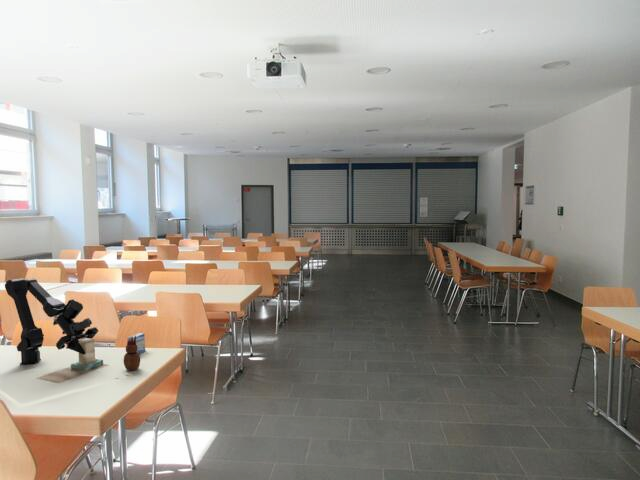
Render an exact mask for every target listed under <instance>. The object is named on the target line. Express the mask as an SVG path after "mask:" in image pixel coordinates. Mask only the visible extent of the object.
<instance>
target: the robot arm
mask: <svg viewBox="0 0 640 480" xmlns="http://www.w3.org/2000/svg"><path fill="white" fill-rule="evenodd" d="M4 288H5V290H6V293H7V295H8V296H9V297H11V299H12V300H13V302H14V304H15V309H16V311H17V315H18V318H19V321H20V325H21V328H22V331H21V333H20V342H19V343H18V344H17V346H16V350H17V352H20V357H21V361H20V363H19V365H34V364H37V363H38V362H40V361H42V359H41V352H40V351H41V350H40V349H39V348H42V346H43V342H44V339H45V338H44V337H45V335H44V333H43V330H42V328H41V327H37V326H36V323H35V321H34V318H33V314H32V312H31V308H30V305H29V300H28V297H27V295H28V292H29V293H30V294H31V295H32V296H33V297H34V298H35V299H36V300H37V301H38V302H39V303H40V304H41V305H42V310H43V311H44V313H45V314H46V316H48V317H49V318H53V317H56V318H54V319H53V323H52V325H53V326H57V325H58V327H60V329H61V330H62V332H61V333H62V335H63V336H61V337H60V338H59V339H58V341H57V342H56V343H55V347H56V348H57V349H58V351H60V350H62V349H64V348H65V349H67V350H72V351H74V352H76V353H78V354H79V353H81V354H83V355H85V351H84V349H83V348H82V346H81V345H80V344H79V340H82V339H85V338H90V339H94V337H95V336H96V335H97V334H98V332H99V329H98V328H97V327H95V326H93V327H91V325H92V324H93V322H92V319H90V318H89V317H87V318H84V319H83V320H81V321H79V322H78V321H76V322H75V319H76V318H77V317H78V316H79V314H80V313H81V312H82V311H83V309H84V305H83V304H82V303H80V302H79V301H77V300H74V299H69V300H68V301H67V303H66V304H65V303H64V302H63V301H61V300H60V299H57V298H54V297H53V296H51V294H50V293H49V292H48V291H47V290H46V289H44V288H43V286H42V285H41V284H40V283H39V282H38V280H37V279H35V278H28V279H27V278H26V279H25V278H24V277H21V278H13V279H8V280H6V283H5V284H4ZM87 328H88V329H87ZM86 329H87V330H86ZM65 344H66V345H65Z"/></svg>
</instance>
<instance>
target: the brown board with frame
mask: <svg viewBox="0 0 640 480" xmlns="http://www.w3.org/2000/svg"><path fill="white" fill-rule="evenodd" d="M107 366H109V364H106V363H105V364H104V359H96V358H95V362H94V363H91V364H89V365H81V364H79V361H76V362H74V363H71V364H70V366H67V367H65V368H62V369H59V370H56V371H53V372H51V373H46V374H44V375H41V376H38V377H36V379H38V380H41V381H42V380H43V381H47V382H51V383H57V384H60V383H62V382H65V381H68V380H71V379H74V378H77V377H79V376H82V375H86V374H88V373H91V372H93V371H96V370H99V369H102V368H105V367H107Z"/></svg>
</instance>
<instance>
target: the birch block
mask: <svg viewBox="0 0 640 480" xmlns="http://www.w3.org/2000/svg"><path fill="white" fill-rule="evenodd" d="M79 344H80V345H81V346H82V348H83V349H84V351H85V355H83V354H81V353H79V352H78V362H79V364H81V365H89V364H91V363H94V362H95V359H96V347H95V346H96V345H95V344H96V343H95V338H92V339H90V338H85V339H79Z"/></svg>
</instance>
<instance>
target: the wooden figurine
mask: <svg viewBox="0 0 640 480" xmlns="http://www.w3.org/2000/svg"><path fill="white" fill-rule="evenodd" d="M134 335H135V334H134ZM126 342H127V343H126V347H125V352H126V353H125V354H124V356H123V366H124V368H125V370H127V371H129V372H131V371H132V372H133V371H137V370H138V369H139V367H140V365H141V355H140V353H137V345H136V335H135V337H134V341H133V337H131V340H130V339H129V341H128V340H127V341H126Z"/></svg>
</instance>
